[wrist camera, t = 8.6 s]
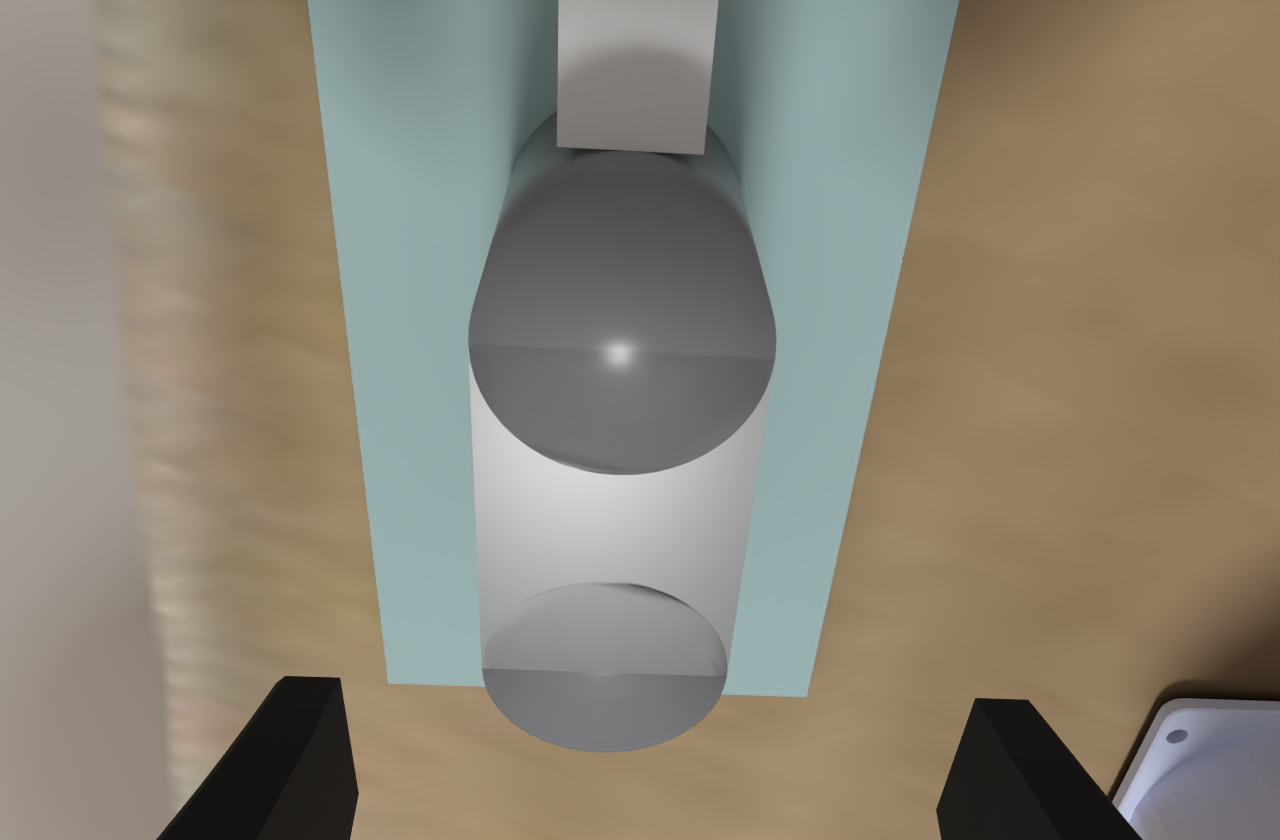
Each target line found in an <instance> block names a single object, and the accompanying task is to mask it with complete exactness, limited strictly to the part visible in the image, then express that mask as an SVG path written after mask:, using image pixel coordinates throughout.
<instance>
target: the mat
mask: <svg viewBox="0 0 1280 840" xmlns="http://www.w3.org/2000/svg"><path fill="white" fill-rule="evenodd" d="M958 4H959V0H718V10H717V21H716V31H715V42H714V52H713V63H712V74H711V84H710V95H709V105H708V116H707V125H708V126H709V127H710V128H711V130H712V131H713V132H714V133H715V134H716V135H717V137H718V138H719V139H720V141H721V142H722V143H723V145H724V147H725V149H726V150H727V152H728V154H729V156H730V158H731V160H732V163H733V166H734V168H735V171H736V174H737V178H738V182H739V186H740V189H741V193H742V197H743V201H744V204H745V208H746V212H747V216H748V219H749V223H750V227H751V231H752V234H753V238H754V242H755V246H756V249H757V253H758V257H759V261H760V264H761V268H762V272H763V276H764V279H765V283H766V287H767V291H768V295H769V298H770V302H771V306H772V310H773V315H774V319H775V325H776V339H777V343H776V356H775V364H774V370H773V377H772V383H771V390H770V397H769V403H768V410H767V416H766V423H765V429H764V436H763V443H762V449H761V456H760V462H759V469H758V475H757V482H756V488H755V495H754V502H753V508H752V515H751V521H750V528H749V534H748V541H747V548H746V554H745V561H744V567H743V574H742V580H741V587H740V593H739V600H738V607H737V613H736V620H735V626H734V633H733V639H732V646H731V653H730V659H729V666H728V672H727V678H726V682H725V686H724V689H723V691H722V693H721V694H728V695H759V696H790V697H807V693H808V689H809V684H810V679H811V675H812V670H813V666H814V661H815V657H816V652H817V648H818V643H819V638H820V634H821V629H822V625H823V620H824V616H825V611H826V606H827V602H828V597H829V593H830V588H831V584H832V579H833V575H834V570H835V565H836V561H837V556H838V552H839V547H840V543H841V538H842V533H843V529H844V524H845V520H846V515H847V511H848V506H849V502H850V497H851V492H852V488H853V483H854V479H855V474H856V470H857V465H858V460H859V456H860V451H861V447H862V442H863V438H864V433H865V429H866V424H867V419H868V415H869V410H870V406H871V401H872V397H873V392H874V387H875V383H876V378H877V374H878V369H879V365H880V360H881V356H882V351H883V346H884V342H885V337H886V333H887V328H888V324H889V319H890V314H891V310H892V305H893V301H894V296H895V292H896V287H897V283H898V278H899V273H900V269H901V264H902V260H903V255H904V251H905V246H906V241H907V237H908V232H909V228H910V223H911V219H912V214H913V210H914V205H915V200H916V196H917V191H918V187H919V182H920V178H921V173H922V168H923V164H924V159H925V155H926V150H927V146H928V141H929V137H930V132H931V127H932V123H933V118H934V114H935V109H936V105H937V100H938V96H939V91H940V86H941V82H942V77H943V73H944V68H945V64H946V59H947V54H948V50H949V45H950V41H951V36H952V32H953V27H954V23H955V18H956V13H957V9H958ZM308 8H309V16H310V25H311V33H312V42H313V50H314V59H315V67H316V75H317V84H318V92H319V101H320V109H321V118H322V126H323V135H324V143H325V152H326V160H327V169H328V177H329V186H330V194H331V203H332V211H333V220H334V228H335V237H336V245H337V254H338V262H339V270H340V279H341V287H342V296H343V304H344V313H345V321H346V330H347V338H348V347H349V355H350V364H351V372H352V381H353V389H354V398H355V406H356V415H357V423H358V432H359V440H360V449H361V457H362V465H363V474H364V482H365V491H366V499H367V508H368V516H369V525H370V533H371V542H372V550H373V559H374V567H375V576H376V584H377V593H378V601H379V610H380V618H381V627H382V635H383V643H384V652H385V660H386V669H387V677H388V683H391V684H422V685H452V686H483V687H486V686H485V683H484V680H483V674H482V662H481V638H480V614H479V591H478V567H477V544H476V520H475V496H474V473H473V449H472V426H471V402H470V378H469V355H468V331H469V322H470V316H471V311H472V307H473V303H474V300H475V296H476V293H477V290H478V286H479V283H480V279H481V276H482V273H483V269H484V266H485V262H486V259H487V256H488V252H489V249H490V245H491V242H492V238H493V235H494V232H495V228H496V225H497V221H498V218H499V215H500V211H501V208H502V204H503V201H504V198H505V194H506V191H507V187H508V184H509V180H510V177H511V174H512V171H513V168H514V165H515V162H516V159H517V157H518V156H519V154H520V152H521V150H522V148H523V146H524V144H525V143H526V142H527V140H528V139H529V137H530V136H531V134H532V133H533V132H534V131H535V130H536V129H537V128H538V127H539V126H540V125H541V124H542V123H543V122H544V121H545V120H546V119H547V118H549V117H550V116H551V115H552V114H554V113H555V112H557V93H558V10H559V0H308Z"/></svg>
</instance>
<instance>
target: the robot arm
mask: <svg viewBox="0 0 1280 840" xmlns="http://www.w3.org/2000/svg"><path fill="white" fill-rule="evenodd" d="M358 794H359V793H358V787H357V781H356V775H355V768H354V762H353V756H352V749H351V743H350V737H349V731H348V724H347V718H346V712H345V705H344V699H343V693H342V687H341V680H340V678H332V677H301V676H285V677H283V678H282V679H281V680H279V681H278V682H277V683H276V684H275V686H274V687H273V688H272V690H271V691H270V693H269V694H268V695H267V697H266V698H265V700H264V701H263V703H262V704H261V705H260V707H259V708H258V709H257V711H256V712H255V714H254V715H253V716H252V718H251V719H250V720H249V722H248V723H247V725H246V726H245V727H244V729H243V730H242V731H241V733H240V734H239V735H238V737H237V738H236V739H235V741H234V742H233V743H232V745H231V746H230V747H229V749H228V750H227V751H226V753H225V754H224V755H223V757H222V758H221V759H220V761H219V762H218V763H217V764H216V766H215V767H214V768H213V770H212V771H211V772H210V774H209V775H208V776H207V777H206V779H205V780H204V781H203V783H202V784H201V785H200V786H199V788H198V789H197V790H196V791H195V793H194V794H193V795H192V796H191V798H190V799H189V800H188V801H187V803H186V804H185V805H184V806H183V807H182V809H181V810H180V811H179V812H178V814H177V815H176V816H175V817H174V819H173V820H172V821H171V822H170V823H169V825H168V826H167V827H166V828H165V830H164V831H163V832H162V833H161V835H160V836H159V837H158V838H157V839H156V840H350V836H351V831H352V826H353V821H354V815H355V810H356V805H357V799H358ZM936 812H937V817H938V823H939V828H940V834H941V839H942V840H1280V701H1253V700H1223V699H1193V698H1180V699H1174V700H1171V701H1169V702H1167V703H1166V704H1164V705H1163V706H1162V707H1161V708H1160V710H1159V711H1158V713H1157V715H1156V717H1155V719H1154V721H1153V723H1152V725H1151V727H1150V729H1149V731H1148V732H1147V734H1146V736H1145V738H1144V740H1143V742H1142V744H1141V746H1140V748H1139V750H1138V752H1137V754H1136V756H1135V758H1134V760H1133V762H1132V764H1131V766H1130V768H1129V770H1128V772H1127V774H1126V776H1125V778H1124V780H1123V782H1122V784H1121V785H1120V787H1119V789H1118V791H1117V793H1116V795H1115V797H1114V799H1113V801H1112V802H1111V801H1110V800H1109V798H1108V797H1107V796H1106V795H1105V794H1104V792H1103V791H1102V790H1101V789H1100V787H1099V786H1098V785H1097V784H1096V783H1095V781H1094V780H1093V779H1092V778H1091V776H1090V775H1089V774H1088V773H1087V772H1086V770H1085V769H1084V768H1083V767H1082V765H1081V764H1080V763H1079V762H1078V760H1077V759H1076V758H1075V757H1074V755H1073V754H1072V753H1071V752H1070V751H1069V749H1068V748H1067V747H1066V746H1065V744H1064V743H1063V742H1062V741H1061V739H1060V738H1059V737H1058V736H1057V734H1056V733H1055V732H1054V731H1053V729H1052V728H1051V727H1050V726H1049V725H1048V723H1047V722H1046V721H1045V720H1044V718H1043V717H1042V716H1041V715H1040V714H1039V712H1038V711H1037V710H1036V709H1035V707H1034V706H1033V705H1032V704H1031V703H1030V702H1029V700H1017V699H986V698H975V701H974V704H973V706H972V709H971V712H970V715H969V718H968V721H967V724H966V726H965V729H964V732H963V735H962V738H961V741H960V743H959V746H958V749H957V752H956V755H955V758H954V761H953V763H952V766H951V769H950V772H949V775H948V778H947V781H946V783H945V786H944V789H943V792H942V795H941V798H940V801H939V803H938V806H937V809H936Z"/></svg>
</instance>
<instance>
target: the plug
mask: <svg viewBox="0 0 1280 840" xmlns="http://www.w3.org/2000/svg"><path fill="white" fill-rule="evenodd" d="M717 10H718V0H559V10H558V93H557V112H555V113H554V114H552V115H551V116H550V117H549V118H547V119H546V120H545V121H544V122H543V123H542V124H541V125H540V126H539V127H538V128H537V129H536V130H535V131H534V132H533V133H532V134H531V136H530V137H529V139H528V140H527V142H526V143H525V144H524V146H523V148H522V150H521V152H520V154H519V156H518V157H517V159H516V162H515V165H514V168H513V171H512V174H511V177H510V180H509V184H508V187H507V191H506V194H505V198H504V201H503V204H502V208H501V211H500V215H499V218H498V221H497V225H496V228H495V232H494V235H493V238H492V242H491V245H490V249H489V252H488V256H487V259H486V262H485V266H484V269H483V273H482V276H481V279H480V283H479V286H478V290H477V293H476V296H475V300H474V303H473V307H472V311H471V316H470V322H469V331H468V355H469V378H470V402H471V426H472V449H473V473H474V496H475V520H476V544H477V567H478V591H479V614H480V638H481V662H482V674H483V680H484V683H485V686H486V689H487V692H488V694H489V695H490V697H491V699H492V701H493V702H494V704H495V705H496V706H497V708H498V709H499V710H500V711H501V712H502V713H503V714H504V715H505V716H506V717H507V718H508V719H509V720H510V721H511V722H512V723H514V724H515V725H516V726H518V727H519V728H520V729H522V730H524V731H525V732H527V733H529V734H530V735H532V736H535V737H537V738H539V739H541V740H543V741H546V742H549V743H551V744H554V745H557V746H561V747H565V748H569V749H574V750H581V751H588V752H623V751H632V750H637V749H642V748H647V747H650V746H654V745H657V744H660V743H663V742H665V741H668V740H670V739H673V738H675V737H677V736H679V735H681V734H682V733H684V732H686V731H687V730H689V729H690V728H692V727H693V726H695V725H696V724H697V723H698V722H700V721H701V720H702V719H703V718H704V717H705V716H706V715H707V714H708V713H709V712H710V711H711V710H712V708H713V707H714V706H715V704H716V703H717V701H718V699H719V698H720V696H721V693H722V691H723V689H724V686H725V682H726V678H727V672H728V666H729V659H730V653H731V646H732V639H733V633H734V626H735V620H736V613H737V607H738V600H739V593H740V587H741V580H742V574H743V567H744V561H745V554H746V548H747V541H748V534H749V528H750V521H751V515H752V508H753V502H754V495H755V488H756V482H757V475H758V469H759V462H760V456H761V449H762V443H763V436H764V429H765V423H766V416H767V410H768V403H769V397H770V390H771V383H772V377H773V370H774V364H775V356H776V343H777V339H776V325H775V319H774V315H773V310H772V306H771V302H770V298H769V295H768V291H767V287H766V283H765V279H764V276H763V272H762V268H761V264H760V261H759V257H758V253H757V249H756V246H755V242H754V238H753V234H752V231H751V227H750V223H749V219H748V216H747V212H746V208H745V204H744V201H743V197H742V193H741V189H740V186H739V182H738V178H737V174H736V171H735V168H734V166H733V163H732V160H731V158H730V156H729V154H728V152H727V150H726V149H725V147H724V145H723V143H722V142H721V141H720V139H719V138H718V137H717V135H716V134H715V133H714V132H713V131H712V130H711V128H710V127H709V126H708V125H707V116H708V105H709V95H710V84H711V74H712V63H713V52H714V42H715V31H716V21H717Z"/></svg>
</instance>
